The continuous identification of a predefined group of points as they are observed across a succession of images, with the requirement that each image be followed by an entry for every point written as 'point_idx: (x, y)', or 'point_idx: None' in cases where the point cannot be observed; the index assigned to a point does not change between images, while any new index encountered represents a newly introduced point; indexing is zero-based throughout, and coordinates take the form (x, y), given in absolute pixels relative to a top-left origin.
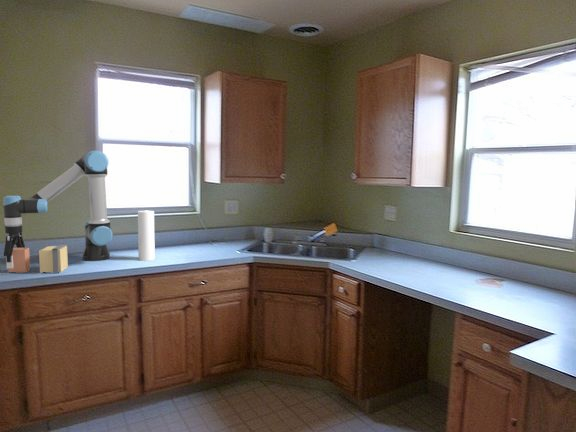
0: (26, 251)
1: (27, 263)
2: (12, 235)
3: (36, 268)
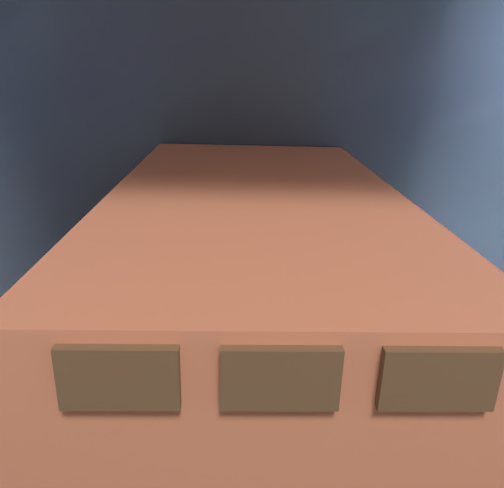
0: (333, 274)
1: (261, 170)
2: None
3: (89, 66)
